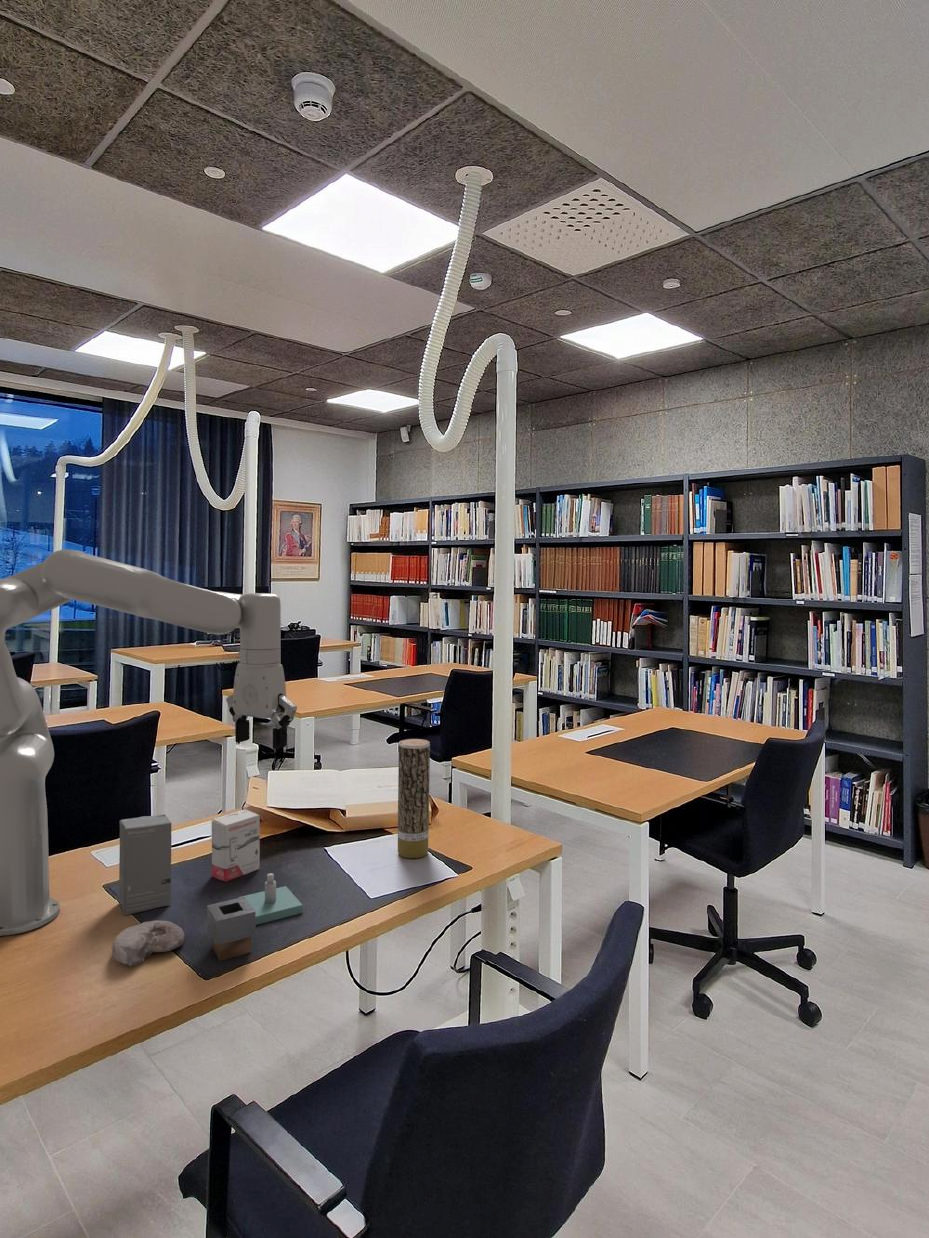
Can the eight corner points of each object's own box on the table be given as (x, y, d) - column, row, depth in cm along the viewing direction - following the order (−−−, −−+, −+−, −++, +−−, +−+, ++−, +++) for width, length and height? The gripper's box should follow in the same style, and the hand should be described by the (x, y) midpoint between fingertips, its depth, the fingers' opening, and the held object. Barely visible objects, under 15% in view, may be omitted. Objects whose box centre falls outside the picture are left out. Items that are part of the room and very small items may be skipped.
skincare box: (124, 916, 129) (122, 830, 128) (118, 901, 135) (116, 818, 134) (173, 905, 133) (173, 822, 132) (166, 890, 139) (165, 810, 138)
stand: (219, 960, 115) (219, 935, 115) (211, 946, 119) (211, 922, 119) (250, 952, 118) (250, 927, 118) (242, 938, 122) (241, 914, 122)
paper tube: (434, 852, 160) (436, 741, 159) (416, 862, 155) (417, 748, 153) (409, 845, 164) (411, 737, 162) (391, 855, 158) (392, 743, 157)
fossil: (159, 905, 125) (197, 924, 120) (157, 929, 126) (195, 948, 120) (93, 930, 115) (132, 952, 110) (91, 956, 115) (130, 979, 110)
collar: (216, 945, 114) (216, 921, 114) (206, 928, 119) (206, 905, 119) (255, 935, 117) (255, 911, 117) (244, 919, 123) (244, 896, 122)
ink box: (224, 883, 143) (224, 825, 142) (210, 876, 146) (210, 819, 145) (260, 868, 150) (260, 813, 149) (246, 862, 153) (246, 808, 152)
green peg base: (253, 925, 127) (253, 889, 126) (238, 904, 134) (238, 870, 134) (302, 912, 132) (302, 878, 131) (285, 893, 139) (285, 860, 139)
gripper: (213, 655, 140) (214, 742, 141) (281, 662, 132) (281, 754, 133) (242, 652, 146) (242, 735, 148) (308, 658, 138) (308, 746, 140)
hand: (260, 744), depth 140 cm, fingers open, 9 cm apart
